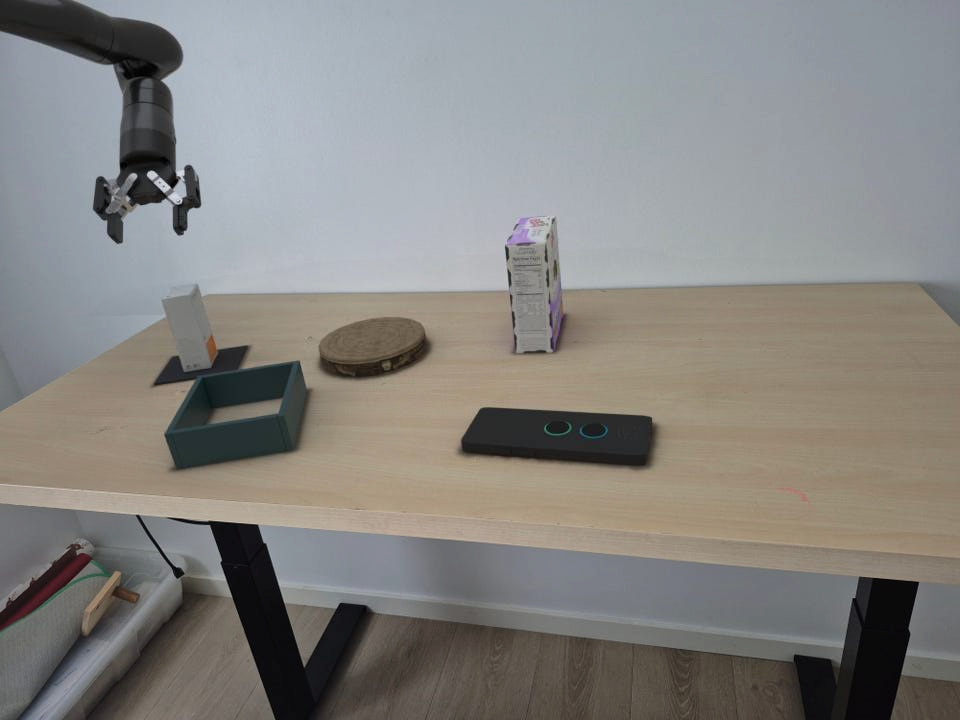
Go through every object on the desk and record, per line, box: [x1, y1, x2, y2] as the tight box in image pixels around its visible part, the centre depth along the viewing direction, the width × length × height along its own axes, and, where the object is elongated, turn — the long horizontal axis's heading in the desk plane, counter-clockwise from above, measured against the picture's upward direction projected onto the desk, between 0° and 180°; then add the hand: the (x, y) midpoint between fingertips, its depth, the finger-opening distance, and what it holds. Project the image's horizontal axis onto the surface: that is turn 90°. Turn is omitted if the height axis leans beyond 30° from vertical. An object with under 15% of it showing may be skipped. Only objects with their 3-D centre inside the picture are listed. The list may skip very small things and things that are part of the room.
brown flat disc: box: [317, 316, 428, 379], centre depth 104 cm, size 16×16×3 cm
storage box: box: [163, 359, 308, 470], centre depth 87 cm, size 14×16×5 cm
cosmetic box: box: [161, 282, 218, 372], centre depth 106 cm, size 6×4×12 cm
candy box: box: [504, 215, 564, 354], centre depth 101 cm, size 14×6×16 cm, turn 168°
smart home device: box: [460, 406, 653, 467], centre depth 77 cm, size 8×2×20 cm
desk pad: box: [153, 345, 248, 386], centre depth 109 cm, size 12×10×1 cm
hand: (147, 236), depth 98 cm, fingers open, 8 cm apart
